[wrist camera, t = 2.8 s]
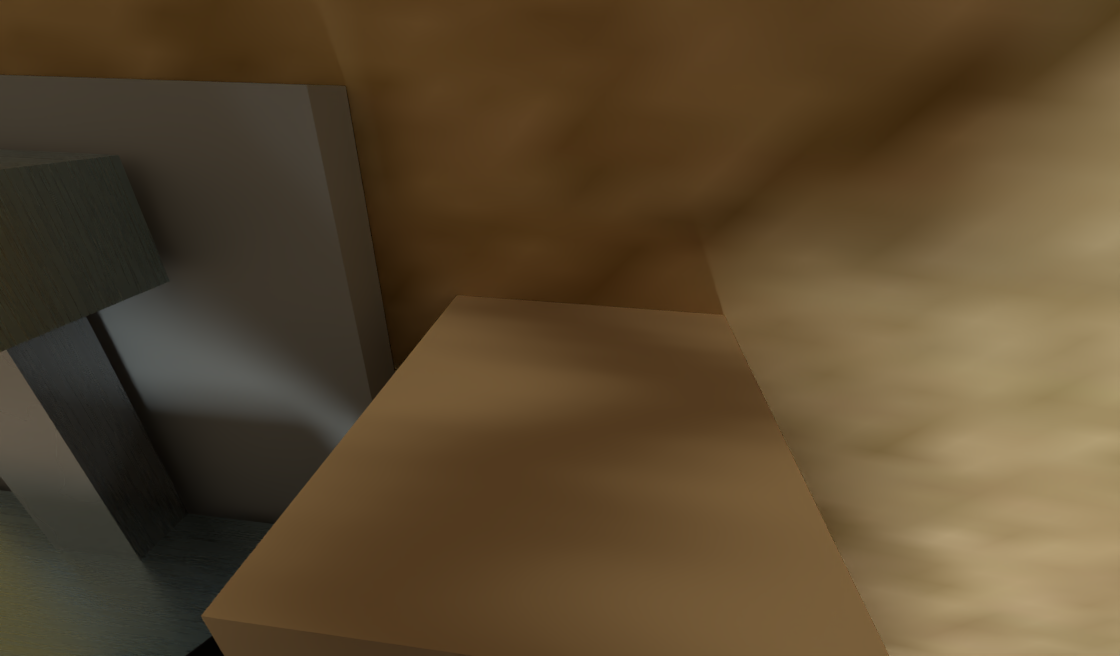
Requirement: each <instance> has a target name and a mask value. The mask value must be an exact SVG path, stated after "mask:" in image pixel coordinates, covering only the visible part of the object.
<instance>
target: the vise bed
mask: <svg viewBox="0 0 1120 656" xmlns="http://www.w3.org/2000/svg"><path fill="white" fill-rule="evenodd" d="M0 149H3V150H24V151H44V152H65V153H86V154H106V155H119V157H120V160H121V162H122V165H123V167H124V169H125V172H126V174H127V177H128V179H129V182H130V184H131V187H132V189H133V192H134V194H135V197H136V199H137V202H138V204H139V206H140V209H141V211H142V214H143V216H144V219H145V221H146V224H147V226H148V229H149V231H150V234H151V236H152V239H153V241H154V244H155V246H156V248H157V251H158V253H159V256H160V258H161V261H162V263H163V266H164V268H165V271H166V273H167V276H168V278H169V282H167V283H164V284H162V285H160V286H157V287H155V288H152V289H150V290H148V291H145V292H143V293H140V294H138V295H136V296H133V297H131V298H128V299H126V300H124V301H121V302H119V303H117V304H114V305H112V306H109V307H107V308H105V309H102V310H100V311H97V312H95V313H93V314H90V315H88V316H86V318H87V320H88V321H89V323H90V325H91V327H92V329H93V331H94V333H95V335H96V337H97V339H98V341H99V343H100V345H101V347H102V348H103V350H104V352H105V354H106V356H107V358H108V360H109V362H110V364H111V366H112V368H113V370H114V372H115V373H116V375H117V377H118V379H119V381H120V383H121V385H122V387H123V389H124V391H125V393H126V395H127V397H128V399H129V400H130V402H131V404H132V406H133V408H134V410H135V412H136V414H137V416H138V418H139V420H140V422H141V424H142V425H143V427H144V429H145V431H146V433H147V435H148V437H149V439H150V441H151V443H152V445H153V447H154V449H155V451H156V452H157V454H158V456H159V458H160V460H161V462H162V464H163V466H164V468H165V470H166V472H167V474H168V476H169V477H170V479H171V481H172V483H173V485H174V487H175V489H176V491H177V493H178V495H179V497H180V499H181V501H182V503H183V504H184V506H185V508H186V510H187V512H188V514H196V515H205V516H213V517H221V518H229V519H237V520H245V521H253V522H261V523H269V524H275V522H276V521H277V520H278V519H279V517H280V516H281V515H282V514H283V512H284V511H285V510H286V509H287V507H288V506H289V505H290V504H291V502H292V501H293V500H294V499H295V497H296V496H297V495H298V494H299V492H300V491H301V490H302V489H303V487H304V486H305V485H306V483H307V482H308V481H309V480H310V478H311V477H312V476H313V475H314V473H315V472H316V471H317V470H318V468H319V467H320V466H321V465H322V463H323V462H324V461H325V460H326V458H327V457H328V456H329V455H330V453H331V452H332V451H333V450H334V448H335V447H336V446H337V445H338V443H339V442H340V441H341V440H342V438H343V437H344V436H345V435H346V433H347V432H348V431H349V430H350V428H351V427H352V426H353V425H354V423H355V422H356V421H357V420H358V418H359V417H360V416H361V415H362V413H363V412H364V411H365V410H366V408H367V407H368V406H369V405H370V403H371V402H372V401H373V400H374V398H375V397H376V396H377V395H378V393H379V392H380V391H381V390H382V388H383V387H384V386H385V384H386V383H387V382H388V381H389V379H390V378H391V377H392V376H393V374H394V373H395V372H394V366H393V360H392V354H391V348H390V342H389V337H388V331H387V325H386V319H385V313H384V307H383V302H382V296H381V290H380V284H379V278H378V272H377V267H376V261H375V255H374V249H373V243H372V238H371V232H370V226H369V220H368V214H367V208H366V203H365V197H364V191H363V185H362V179H361V173H360V168H359V162H358V156H357V150H356V144H355V138H354V133H353V127H352V121H351V115H350V109H349V103H348V98H347V92H346V86H332V85H301V84H270V83H239V82H208V81H177V80H146V79H115V78H84V77H53V76H22V75H0ZM0 490H2V491H10V492H12V491H11V490H10V488H9V487H8V486H7V484H6V483H5V482H4V480H3V479H2V478H1V476H0Z"/></svg>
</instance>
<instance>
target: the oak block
mask: <svg viewBox="0 0 1120 656" xmlns="http://www.w3.org/2000/svg"><path fill="white" fill-rule="evenodd" d="M201 617H202V619H203V621H204V622H205V624H206V626H207V628H208V629H209V631H210V633H211V634H212V636H213V638H214V639H215V641H216V643H217V645H218V646H219V648H220V650H221V651H222V653H223V655H224V656H889V655H888V653H887V650H886V648H885V646H884V644H883V642H882V640H881V638H880V636H879V634H878V632H877V630H876V628H875V626H874V624H873V622H872V619H871V617H870V615H869V613H868V611H867V609H866V607H865V605H864V603H863V601H862V599H861V597H860V595H859V593H858V591H857V588H856V586H855V584H854V582H853V580H852V578H851V576H850V574H849V572H848V570H847V568H846V566H845V564H844V562H843V560H842V557H841V555H840V553H839V551H838V549H837V547H836V545H835V543H834V541H833V539H832V537H831V535H830V533H829V531H828V529H827V526H826V524H825V522H824V520H823V518H822V516H821V514H820V512H819V510H818V508H817V506H816V504H815V502H814V500H813V498H812V495H811V493H810V491H809V489H808V487H807V485H806V483H805V481H804V479H803V477H802V475H801V473H800V471H799V469H798V467H797V464H796V462H795V460H794V458H793V456H792V454H791V452H790V450H789V448H788V446H787V444H786V442H785V440H784V438H783V436H782V433H781V431H780V429H779V427H778V425H777V423H776V421H775V419H774V417H773V415H772V413H771V411H770V409H769V407H768V405H767V402H766V400H765V398H764V396H763V394H762V392H761V390H760V388H759V386H758V384H757V382H756V380H755V378H754V376H753V374H752V371H751V369H750V367H749V365H748V363H747V361H746V359H745V357H744V355H743V353H742V351H741V349H740V347H739V345H738V343H737V340H736V338H735V336H734V334H733V332H732V330H731V328H730V326H729V324H728V322H727V320H726V318H725V316H724V315H718V314H705V313H691V312H678V311H664V310H651V309H638V308H624V307H611V306H597V305H584V304H570V303H557V302H543V301H530V300H517V299H503V298H490V297H476V296H463V295H457V296H456V297H455V298H454V299H453V301H452V302H451V303H450V304H449V306H448V307H447V308H446V309H445V311H444V312H443V313H442V314H441V316H440V317H439V318H438V319H437V321H436V322H435V323H434V324H433V326H432V327H431V328H430V329H429V331H428V332H427V333H426V334H425V336H424V337H423V338H422V339H421V341H420V342H419V343H418V344H417V346H416V347H415V348H414V349H413V351H412V352H411V353H410V354H409V356H408V357H407V358H406V359H405V361H404V362H403V363H402V364H401V366H400V367H399V368H398V369H397V371H396V372H395V373H394V374H393V376H392V377H391V378H390V379H389V381H388V382H387V383H386V384H385V386H384V387H383V388H382V390H381V391H380V392H379V393H378V395H377V396H376V397H375V398H374V400H373V401H372V402H371V403H370V405H369V406H368V407H367V408H366V410H365V411H364V412H363V413H362V415H361V416H360V417H359V418H358V420H357V421H356V422H355V423H354V425H353V426H352V427H351V428H350V430H349V431H348V432H347V433H346V435H345V436H344V437H343V438H342V440H341V441H340V442H339V443H338V445H337V446H336V447H335V448H334V450H333V451H332V452H331V453H330V455H329V456H328V457H327V458H326V460H325V461H324V462H323V463H322V465H321V466H320V467H319V468H318V470H317V471H316V472H315V473H314V475H313V476H312V477H311V478H310V480H309V481H308V482H307V483H306V485H305V486H304V487H303V489H302V490H301V491H300V492H299V494H298V495H297V496H296V497H295V499H294V500H293V501H292V502H291V504H290V505H289V506H288V507H287V509H286V510H285V511H284V512H283V514H282V515H281V516H280V517H279V519H278V520H277V521H276V522H275V524H274V525H273V526H272V527H271V529H270V530H269V531H268V532H267V534H266V535H265V536H264V537H263V539H262V540H261V541H260V542H259V544H258V545H257V546H256V547H255V549H254V550H253V551H252V552H251V554H250V555H249V556H248V557H247V559H246V560H245V561H244V562H243V564H242V565H241V566H240V567H239V569H238V570H237V571H236V572H235V574H234V575H233V576H232V577H231V579H230V580H229V581H228V582H227V584H226V585H225V586H224V588H223V589H222V590H221V591H220V593H219V594H218V595H217V596H216V598H215V599H214V600H213V601H212V603H211V604H210V605H209V606H208V608H207V609H206V610H205V611H204V613H203V614H202V615H201Z"/></svg>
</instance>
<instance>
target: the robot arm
mask: <svg viewBox="0 0 1120 656" xmlns="http://www.w3.org/2000/svg"><path fill="white" fill-rule="evenodd" d="M185 656H224V655H223V653H222V651H221V650H220V648H219V646H218V645H217V643H216V641H215V639H214V638H213V636H211V637H209V638H208V639H207V640H206V641H204V642H203V643H202V644H200V645H199V646H198V647H196V648H195V649H194V650H192V651H191V652H189V653H188V654H187V655H185Z"/></svg>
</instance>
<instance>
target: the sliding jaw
mask: <svg viewBox="0 0 1120 656" xmlns="http://www.w3.org/2000/svg"><path fill="white" fill-rule="evenodd" d="M167 282H169V278H168V276H167V273H166V271H165V268H164V266H163V263H162V261H161V258H160V256H159V253H158V251H157V248H156V246H155V244H154V241H153V239H152V236H151V234H150V231H149V229H148V226H147V224H146V221H145V219H144V216H143V214H142V211H141V209H140V206H139V204H138V202H137V199H136V197H135V194H134V192H133V189H132V187H131V184H130V182H129V179H128V177H127V174H126V172H125V169H124V167H123V165H122V162H121V160H120V157H119V155H106V154H86V153H65V152H44V151H24V150H3V149H0V476H1V478H2V479H3V480H4V482H5V483H6V484H7V486H8V487H9V488H10V490H11V491H12V492H10V491H2V490H0V656H185V655H187V654H188V653H189V652H191V651H192V650H194V649H195V648H196V647H198V646H199V645H200V644H202V643H203V642H204V641H206V640H207V639H208V638H209V637H211V636H212V634H211V633H210V631H209V629H208V628H207V626H206V624H205V622H204V621H203V619H202V617H201V615H202V614H203V613H204V611H205V610H206V609H207V608H208V606H209V605H210V604H211V603H212V601H213V600H214V599H215V598H216V596H217V595H218V594H219V593H220V591H221V590H222V589H223V588H224V586H225V585H226V584H227V582H228V581H229V580H230V579H231V577H232V576H233V575H234V574H235V572H236V571H237V570H238V569H239V567H240V566H241V565H242V564H243V562H244V561H245V560H246V559H247V557H248V556H249V555H250V554H251V552H252V551H253V550H254V549H255V547H256V546H257V545H258V544H259V542H260V541H261V540H262V539H263V537H264V536H265V535H266V534H267V532H268V531H269V530H270V529H271V527H272V526H273V525H274V524H269V523H261V522H253V521H245V520H237V519H229V518H221V517H213V516H205V515H196V514H188V512H187V510H186V508H185V506H184V504H183V503H182V501H181V499H180V497H179V495H178V493H177V491H176V489H175V487H174V485H173V483H172V481H171V479H170V477H169V476H168V474H167V472H166V470H165V468H164V466H163V464H162V462H161V460H160V458H159V456H158V454H157V452H156V451H155V449H154V447H153V445H152V443H151V441H150V439H149V437H148V435H147V433H146V431H145V429H144V427H143V425H142V424H141V422H140V420H139V418H138V416H137V414H136V412H135V410H134V408H133V406H132V404H131V402H130V400H129V399H128V397H127V395H126V393H125V391H124V389H123V387H122V385H121V383H120V381H119V379H118V377H117V375H116V373H115V372H114V370H113V368H112V366H111V364H110V362H109V360H108V358H107V356H106V354H105V352H104V350H103V348H102V347H101V345H100V343H99V341H98V339H97V337H96V335H95V333H94V331H93V329H92V327H91V325H90V323H89V321H88V320H87V318H86V316H88V315H90V314H93V313H95V312H97V311H100V310H102V309H105V308H107V307H109V306H112V305H114V304H117V303H119V302H121V301H124V300H126V299H128V298H131V297H133V296H136V295H138V294H140V293H143V292H145V291H148V290H150V289H152V288H155V287H157V286H160V285H162V284H164V283H167Z"/></svg>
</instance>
